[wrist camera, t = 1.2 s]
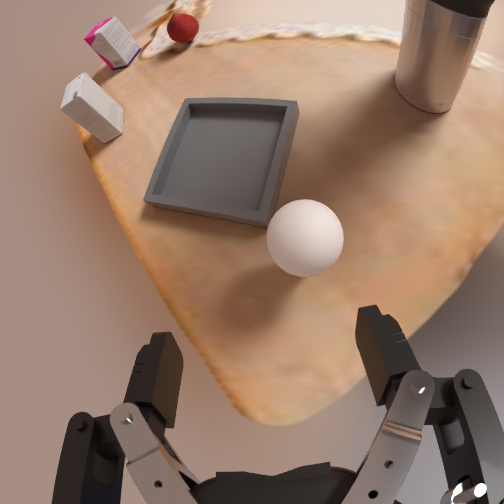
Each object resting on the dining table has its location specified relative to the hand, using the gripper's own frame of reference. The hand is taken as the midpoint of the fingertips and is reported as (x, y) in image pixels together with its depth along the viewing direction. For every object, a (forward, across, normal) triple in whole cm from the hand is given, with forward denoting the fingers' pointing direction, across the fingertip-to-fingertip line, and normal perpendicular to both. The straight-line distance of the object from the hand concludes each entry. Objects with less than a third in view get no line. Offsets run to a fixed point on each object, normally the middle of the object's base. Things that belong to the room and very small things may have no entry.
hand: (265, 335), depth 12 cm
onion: (+50, +8, -22) cm, 55 cm away
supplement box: (+55, +23, -24) cm, 64 cm away
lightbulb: (+17, -5, +8) cm, 20 cm away
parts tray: (+28, +3, -2) cm, 28 cm away
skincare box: (+40, +22, -9) cm, 46 cm away
